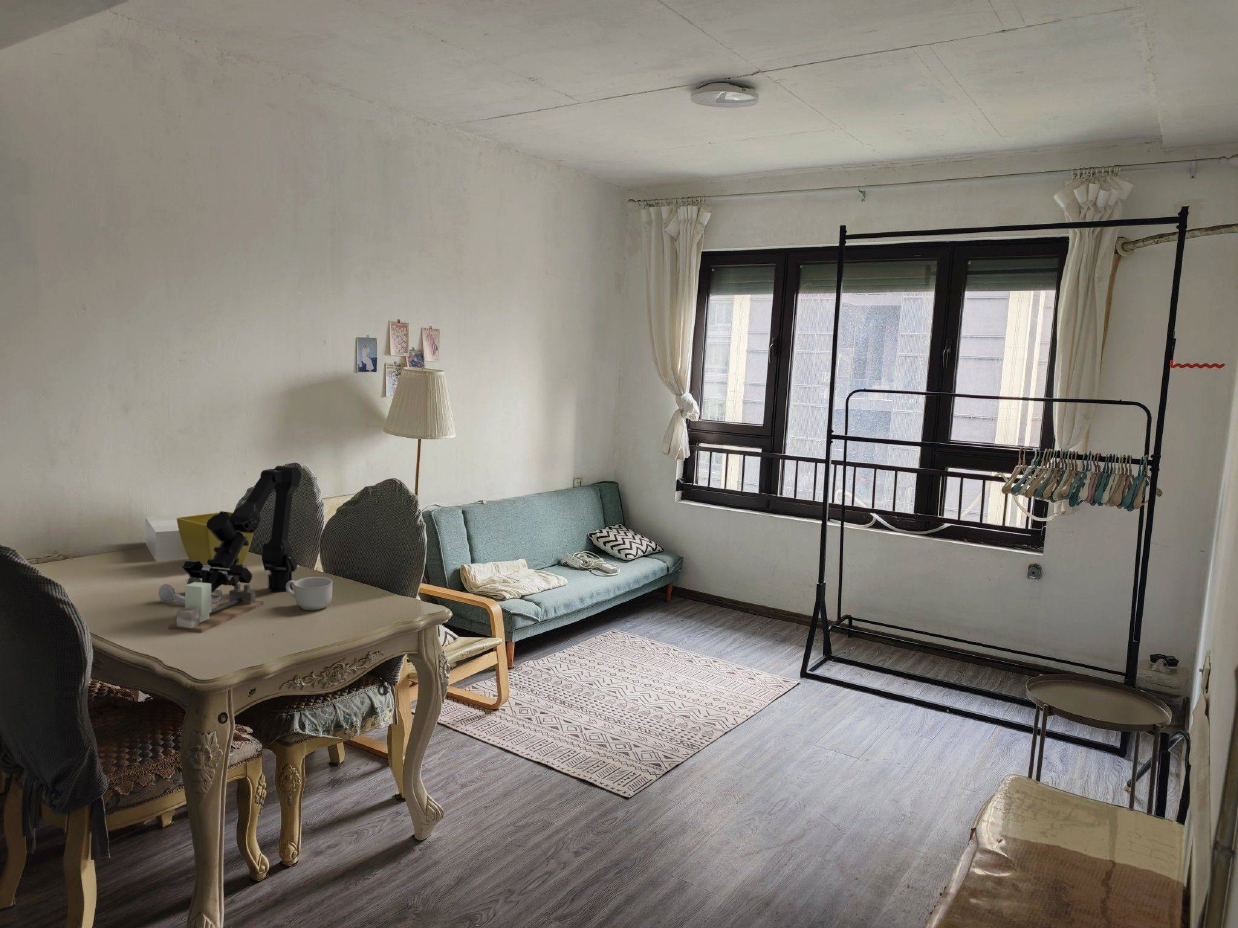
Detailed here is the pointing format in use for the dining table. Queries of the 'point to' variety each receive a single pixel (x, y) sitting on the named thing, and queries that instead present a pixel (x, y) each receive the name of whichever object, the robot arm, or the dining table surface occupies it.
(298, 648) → the dining table surface
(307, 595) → the teacup
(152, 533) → the white rectangular box
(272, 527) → the robot arm
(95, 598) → the dining table surface
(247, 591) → the cord board
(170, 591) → the headphones
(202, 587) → the pale green box
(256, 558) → the dining table surface
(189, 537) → the flower pot
